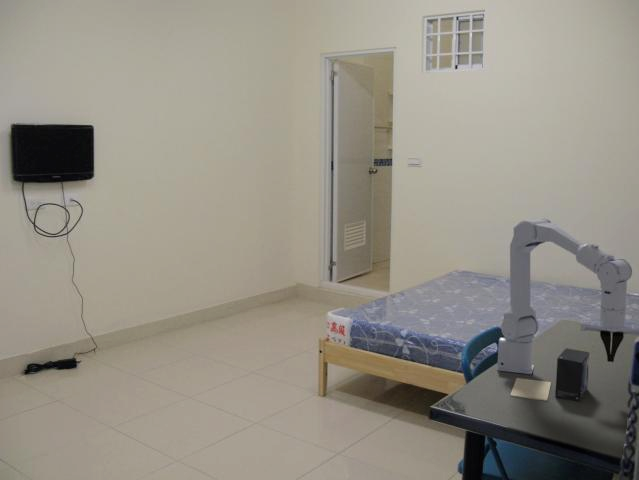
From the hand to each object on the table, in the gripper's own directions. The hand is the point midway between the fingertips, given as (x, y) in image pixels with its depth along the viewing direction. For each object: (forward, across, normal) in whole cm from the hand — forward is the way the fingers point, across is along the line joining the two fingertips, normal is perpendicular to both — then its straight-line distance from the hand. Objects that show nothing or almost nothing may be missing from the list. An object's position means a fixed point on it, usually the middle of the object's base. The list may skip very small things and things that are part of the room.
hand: (610, 360), depth 162 cm
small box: (+10, -9, 0) cm, 13 cm away
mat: (+10, -19, -1) cm, 21 cm away
